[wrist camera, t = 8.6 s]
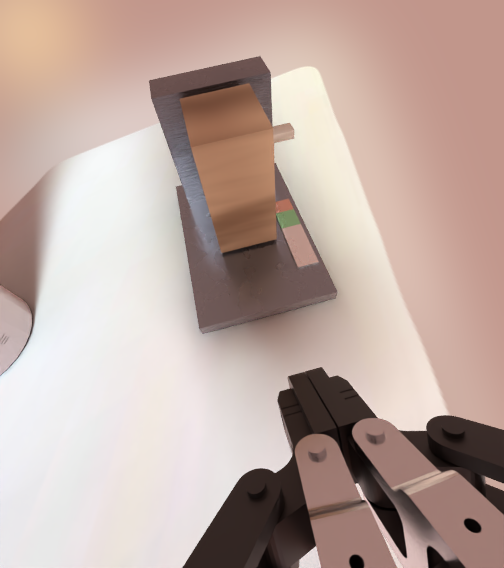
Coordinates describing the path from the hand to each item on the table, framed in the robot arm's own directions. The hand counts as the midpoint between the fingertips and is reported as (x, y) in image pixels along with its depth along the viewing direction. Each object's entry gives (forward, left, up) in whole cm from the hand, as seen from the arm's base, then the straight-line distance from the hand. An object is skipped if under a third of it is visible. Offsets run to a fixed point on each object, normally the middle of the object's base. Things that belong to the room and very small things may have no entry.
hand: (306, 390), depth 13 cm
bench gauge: (-11, +12, -8) cm, 18 cm away
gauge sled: (-11, +13, -7) cm, 18 cm away
